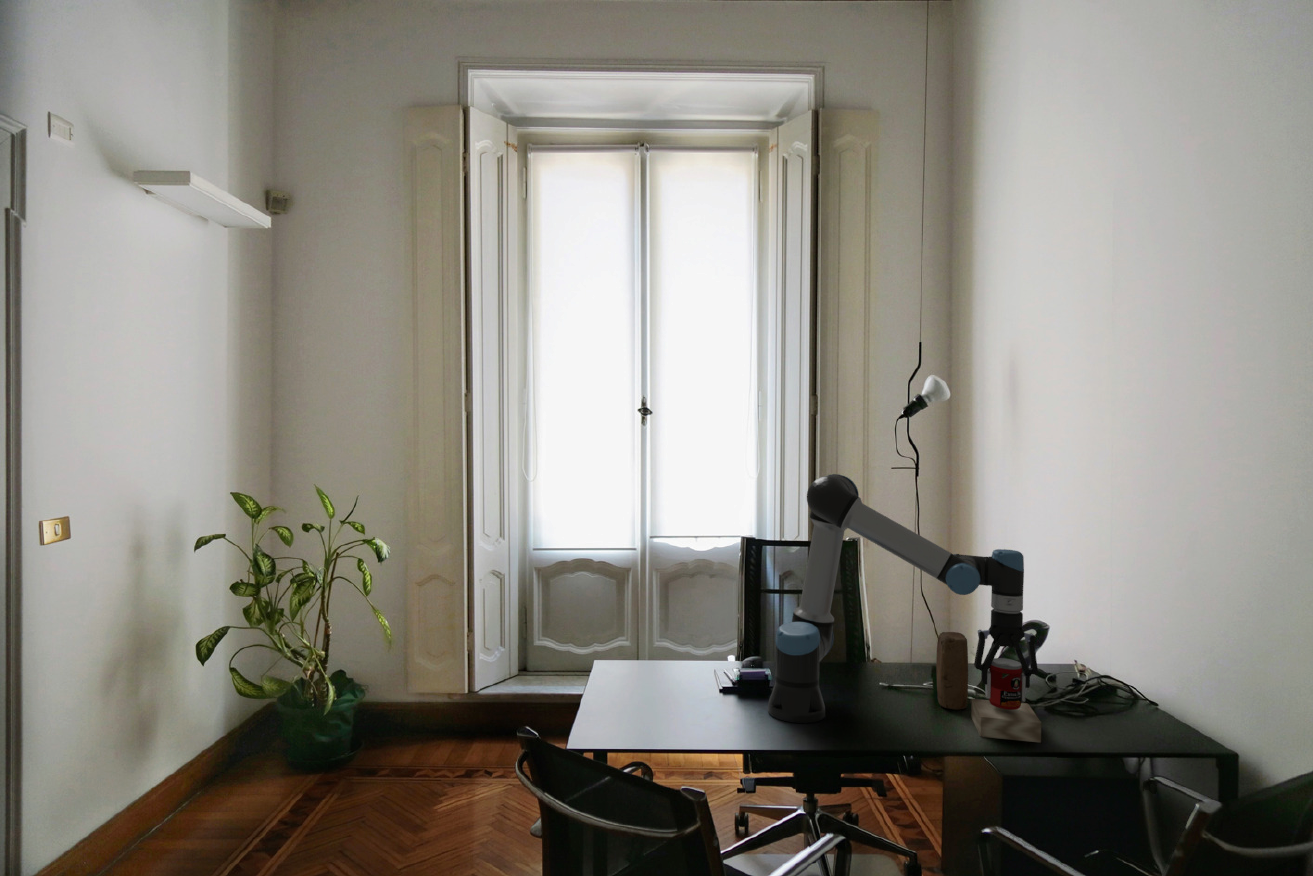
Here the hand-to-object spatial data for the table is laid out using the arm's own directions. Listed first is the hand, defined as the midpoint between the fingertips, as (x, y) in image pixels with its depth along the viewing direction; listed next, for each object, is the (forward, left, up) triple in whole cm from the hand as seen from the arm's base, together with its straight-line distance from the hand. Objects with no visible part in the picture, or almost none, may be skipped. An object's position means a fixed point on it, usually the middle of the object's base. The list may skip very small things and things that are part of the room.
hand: (1004, 698), depth 201 cm
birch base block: (0, 0, -8) cm, 8 cm away
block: (-11, +16, -8) cm, 21 cm away
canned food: (0, 0, -2) cm, 2 cm away
